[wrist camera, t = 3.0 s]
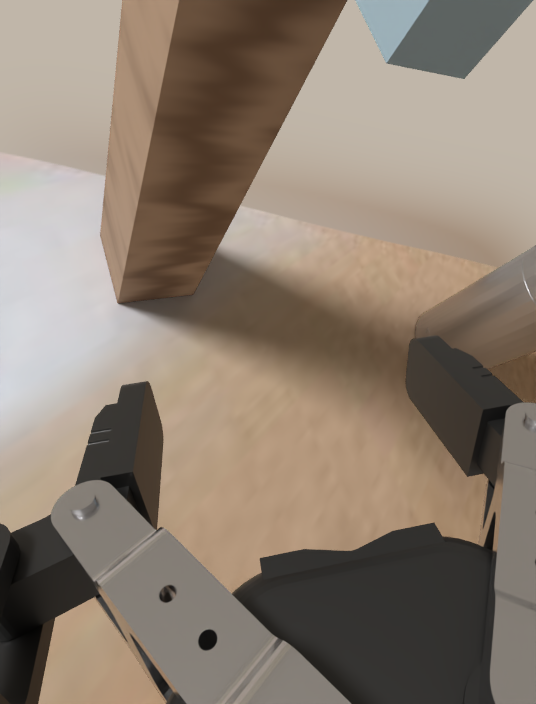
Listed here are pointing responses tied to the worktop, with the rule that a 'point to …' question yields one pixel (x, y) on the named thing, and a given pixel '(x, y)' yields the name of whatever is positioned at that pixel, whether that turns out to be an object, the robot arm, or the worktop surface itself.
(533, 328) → the robot arm
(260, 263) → the worktop surface
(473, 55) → the blue-grey stepped block
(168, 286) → the walnut stand
